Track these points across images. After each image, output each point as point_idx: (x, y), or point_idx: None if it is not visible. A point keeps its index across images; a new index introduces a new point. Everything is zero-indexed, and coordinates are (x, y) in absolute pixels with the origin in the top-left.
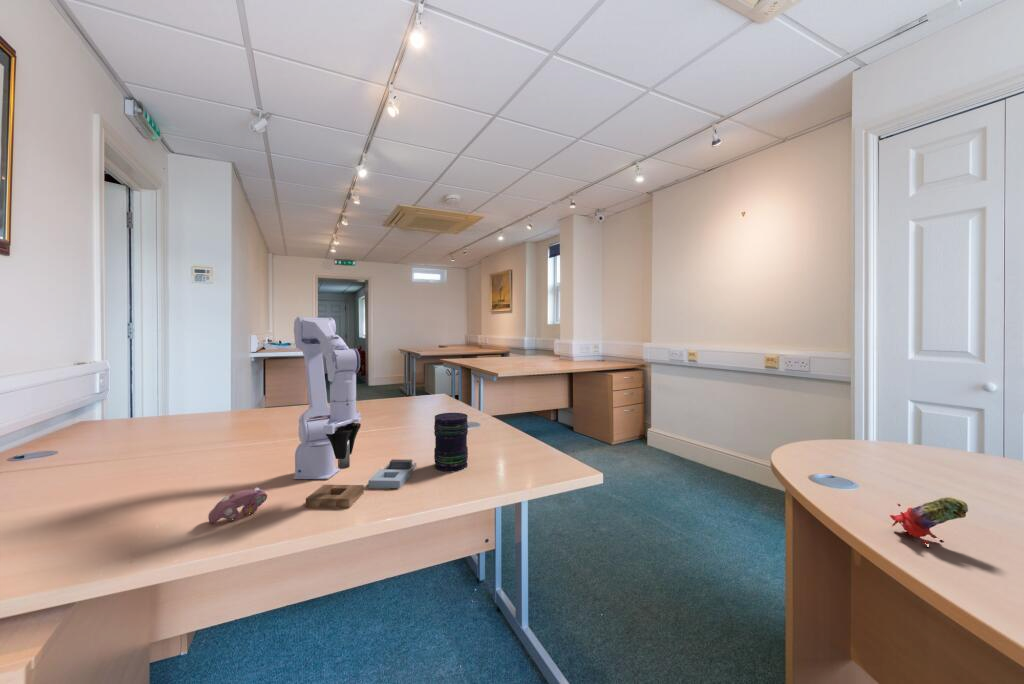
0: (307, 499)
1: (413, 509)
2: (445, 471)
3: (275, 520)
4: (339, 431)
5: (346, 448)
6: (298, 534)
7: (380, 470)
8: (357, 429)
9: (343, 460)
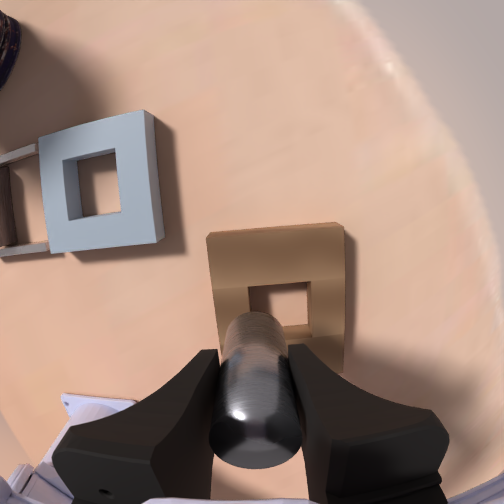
0: (342, 365)
1: (316, 13)
2: (18, 50)
3: (406, 375)
4: (437, 480)
5: (309, 368)
6: (472, 275)
7: (59, 245)
8: (133, 430)
9: (285, 348)
